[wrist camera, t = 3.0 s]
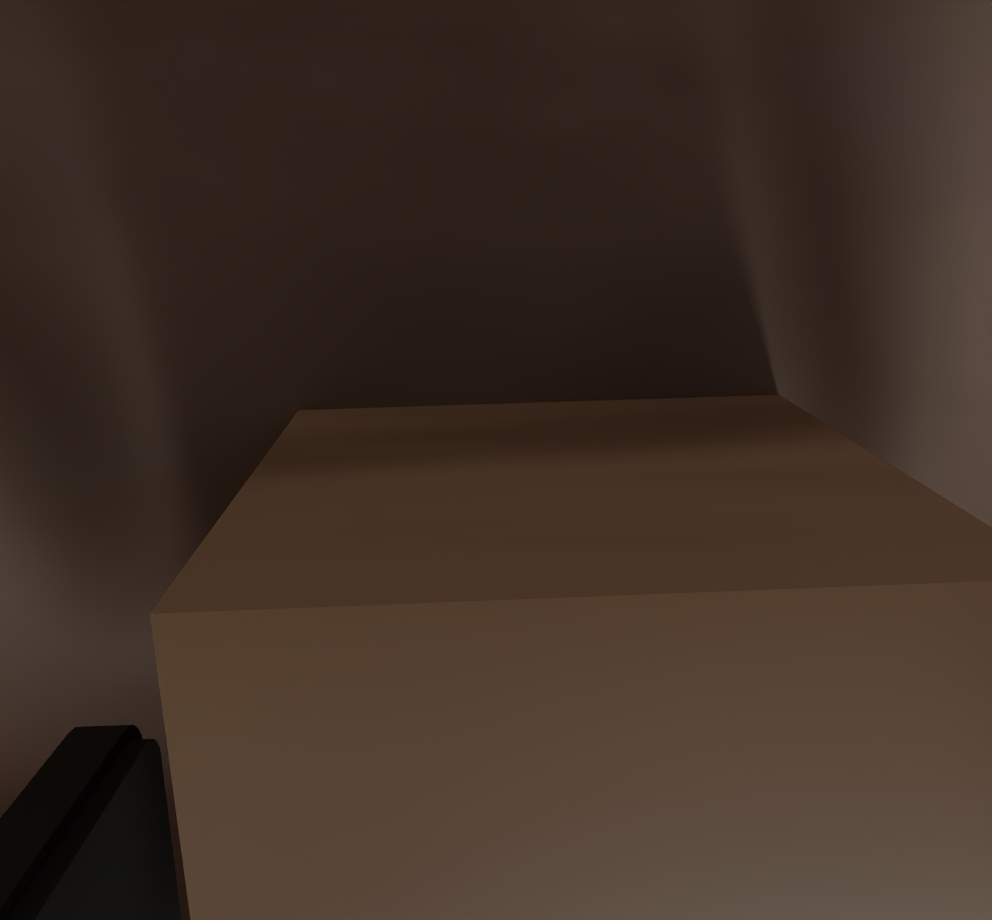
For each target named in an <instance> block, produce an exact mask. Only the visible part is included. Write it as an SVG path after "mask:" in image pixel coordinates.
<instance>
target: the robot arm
mask: <svg viewBox="0 0 992 920" xmlns="http://www.w3.org/2000/svg"><path fill="white" fill-rule="evenodd" d="M0 920H181V914H180V906H179V898H178V890H177V882H176V874H175V866H174V857H173V849H172V841H171V833H170V825H169V817H168V809H167V801H166V793H165V785H164V777H163V768H162V760H161V753H160V748H159V745H158V743H157V741H155V740H154V739H142V735H141V733H140V731H139V729H138V728H137V727H136V726H135V725H119V726H88V727H75V728H74V729H73V730H72V731H70V732H69V733H68V735H67V736H66V737H65V738H64V740H63V741H62V742H61V743H60V745H59V746H58V747H57V748H56V750H55V751H54V752H53V753H52V755H51V756H50V757H49V758H48V760H47V761H46V762H45V763H44V765H43V766H42V767H41V768H40V770H39V771H38V772H37V773H36V775H35V776H34V777H33V778H32V780H31V781H30V782H29V783H28V785H27V786H26V787H25V788H24V790H23V791H22V792H21V793H20V795H19V796H18V797H17V798H16V800H15V801H14V802H13V803H12V805H11V806H10V807H9V808H8V810H7V811H6V812H5V813H4V814H3V816H2V817H1V818H0Z"/></svg>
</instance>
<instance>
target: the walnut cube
mask: <svg viewBox="0 0 992 920" xmlns="http://www.w3.org/2000/svg"><path fill="white" fill-rule="evenodd" d="M149 615H150V622H151V629H152V637H153V644H154V652H155V659H156V667H157V674H158V682H159V689H160V696H161V704H162V711H163V719H164V726H165V734H166V741H167V749H168V756H169V763H170V771H171V778H172V786H173V793H174V801H175V808H176V816H177V823H178V830H179V838H180V845H181V853H182V860H183V868H184V875H185V883H186V890H187V897H188V905H189V912H190V920H992V528H991V527H990V526H988V525H987V524H985V523H983V522H982V521H980V520H979V519H977V518H975V517H974V516H972V515H971V514H969V513H967V512H966V511H964V510H963V509H961V508H959V507H958V506H956V505H954V504H953V503H951V502H950V501H948V500H946V499H945V498H943V497H942V496H940V495H938V494H937V493H935V492H934V491H932V490H930V489H929V488H927V487H926V486H924V485H922V484H921V483H919V482H918V481H916V480H914V479H913V478H911V477H910V476H908V475H906V474H905V473H903V472H902V471H900V470H898V469H897V468H895V467H894V466H892V465H890V464H889V463H887V462H886V461H884V460H882V459H881V458H879V457H878V456H876V455H874V454H873V453H871V452H869V451H868V450H866V449H865V448H863V447H861V446H860V445H858V444H857V443H855V442H853V441H852V440H850V439H849V438H847V437H845V436H844V435H842V434H841V433H839V432H837V431H836V430H834V429H833V428H831V427H829V426H828V425H826V424H825V423H823V422H821V421H820V420H818V419H817V418H815V417H813V416H812V415H810V414H809V413H807V412H805V411H804V410H802V409H801V408H799V407H797V406H796V405H794V404H793V403H791V402H789V401H788V400H786V399H784V398H783V397H781V396H780V395H750V396H719V397H688V398H657V399H626V400H596V401H565V402H534V403H503V404H473V405H442V406H411V407H380V408H349V409H319V410H298V411H297V413H296V414H295V416H294V417H293V418H292V420H291V421H290V422H289V424H288V425H287V426H286V428H285V429H284V431H283V432H282V433H281V435H280V436H279V437H278V439H277V440H276V442H275V443H274V444H273V446H272V447H271V448H270V450H269V451H268V452H267V454H266V455H265V457H264V458H263V459H262V461H261V462H260V463H259V465H258V466H257V467H256V469H255V470H254V472H253V473H252V474H251V476H250V477H249V478H248V480H247V481H246V483H245V484H244V485H243V487H242V488H241V489H240V491H239V492H238V493H237V495H236V496H235V498H234V499H233V500H232V502H231V503H230V504H229V506H228V507H227V509H226V510H225V511H224V513H223V514H222V515H221V517H220V518H219V519H218V521H217V522H216V524H215V525H214V526H213V528H212V529H211V530H210V532H209V533H208V535H207V536H206V537H205V539H204V540H203V541H202V543H201V544H200V545H199V547H198V548H197V550H196V551H195V552H194V554H193V555H192V556H191V558H190V559H189V560H188V562H187V563H186V565H185V566H184V567H183V569H182V570H181V571H180V573H179V574H178V576H177V577H176V578H175V580H174V581H173V582H172V584H171V585H170V586H169V588H168V589H167V591H166V592H165V593H164V595H163V596H162V597H161V599H160V600H159V602H158V603H157V604H156V606H155V607H154V608H153V610H152V611H151V612H150V614H149Z"/></svg>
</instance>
